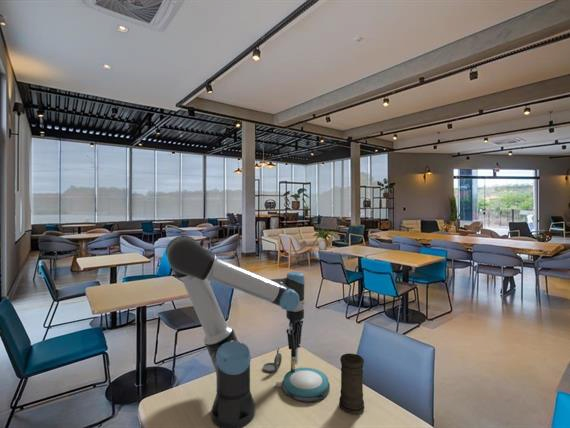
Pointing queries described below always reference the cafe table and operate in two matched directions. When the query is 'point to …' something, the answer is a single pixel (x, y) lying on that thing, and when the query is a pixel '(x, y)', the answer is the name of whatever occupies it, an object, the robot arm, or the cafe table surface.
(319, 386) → the turntable
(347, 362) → the container
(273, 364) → the pocket watch
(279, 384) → the turntable base
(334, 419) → the cafe table surface
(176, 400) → the cafe table surface
